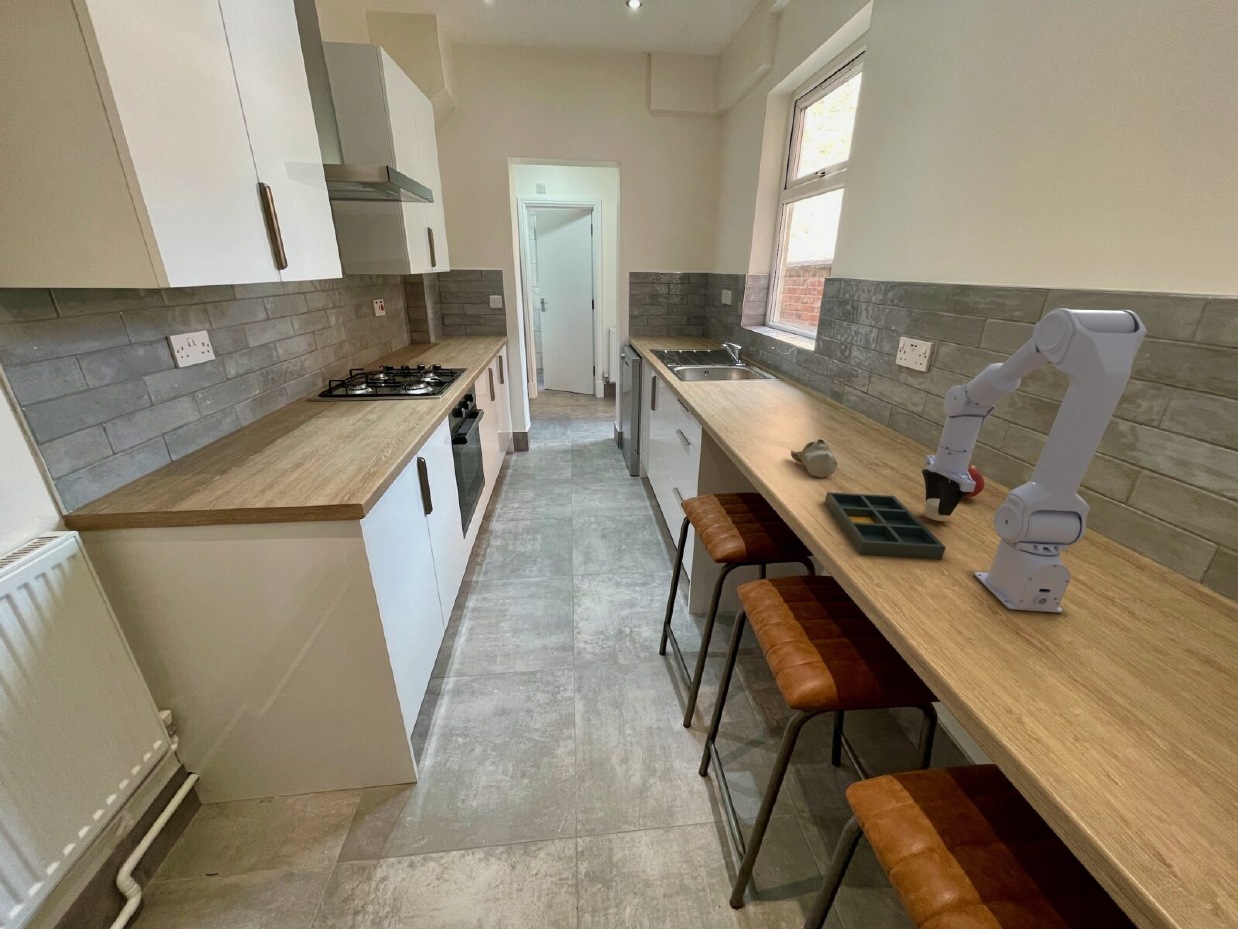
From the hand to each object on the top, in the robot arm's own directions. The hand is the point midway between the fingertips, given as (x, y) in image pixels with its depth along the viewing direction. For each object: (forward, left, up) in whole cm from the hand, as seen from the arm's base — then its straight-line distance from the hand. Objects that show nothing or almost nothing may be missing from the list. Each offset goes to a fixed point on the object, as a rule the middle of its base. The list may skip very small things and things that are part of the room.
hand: (937, 508), depth 101 cm
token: (0, 0, -2) cm, 2 cm away
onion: (+12, -12, -3) cm, 18 cm away
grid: (-5, +14, -3) cm, 15 cm away
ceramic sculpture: (+25, +18, -3) cm, 31 cm away
